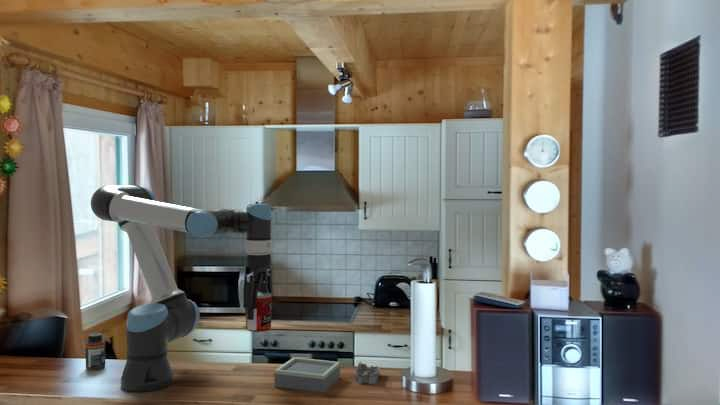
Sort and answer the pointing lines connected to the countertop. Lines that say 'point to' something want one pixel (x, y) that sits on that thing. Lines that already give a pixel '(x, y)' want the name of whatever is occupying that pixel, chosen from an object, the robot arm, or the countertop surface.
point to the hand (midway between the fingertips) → (258, 326)
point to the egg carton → (366, 374)
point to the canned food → (262, 312)
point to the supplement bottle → (95, 352)
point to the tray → (307, 374)
